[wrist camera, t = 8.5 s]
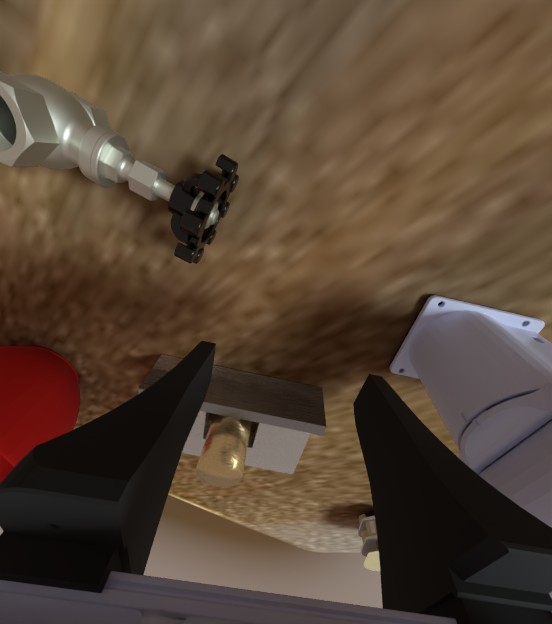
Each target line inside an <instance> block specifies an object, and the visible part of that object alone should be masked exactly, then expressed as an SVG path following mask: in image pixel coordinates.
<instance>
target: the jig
mask: <svg viewBox="0 0 552 624" xmlns="http://www.w3.org/2000/svg"><path fill="white" fill-rule="evenodd" d="M182 360H183V358H178V357H173V356H169V355H164V354H162V355H161V356H160V357H159V359H158V360H157V362H156V363H155V365H154V366H153V367H152V369H151V370H150V372H149V373H148V375H147V376H146V378H145V379H144V380H143V382H142V383H141V385H140V386H139V388H138V394H139V393H141V392H142V391H144V390H145V389H147V388H148V387H150V386H151V385H152V384H154V383H155V382H156V381H158V380H159V379H160V378H161V377H163V376H164V375H165V374H167V373H168V372H169V371H170V370H171V369H173V368H174V367H175V366H176V365H177V364H178V363H179V362H180V361H182ZM209 413H213V414H218V415H223V416H228V417H233V418H238V419H243V420H248V421H253V422H257V426H256V430H255V432H252V431H250V435H249V441H248V446H247V452H246V458H245V464H244V465H247V466H253V467H258V468H263V469H268V470H273V471H278V472H283V473H289V474H293V472H294V470H295V468H296V466H297V463H298V461H299V459H300V457H301V454H302V452H303V450H304V447H305V445H306V443H307V441H308V438H309V436H310V434H311V433H312V434H317V435H323V433H324V431H325V428H326V419H325V410H324V401H323V392H322V388H321V387H316V386H311V385H306V384H302V383H297V382H292V381H287V380H283V379H278V378H273V377H268V376H264V375H259V374H254V373H249V372H245V371H240V370H235V369H230V368H226V367H221V366H216V365H213V370H212V377H211V381H210V384H209V387H208V390H207V394H206V397H205V399H204V402H203V404H202V406H201V408H200V411H199V413H198V415H197V418H196V420H195V422H194V425H193V427H192V429H191V431H190V434H189V436H188V438H187V441H186V443H185V445H184V448H183V451H182V453H186V454H191V455H196V456H201V453H202V449H203V446H204V443H205V440H206V437H207V434H208V431H209V428H210V425H211V423H208V421H209Z"/></svg>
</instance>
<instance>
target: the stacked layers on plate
mask: <svg viewBox="0 0 552 624" xmlns="http://www.w3.org/2000/svg"><path fill="white" fill-rule="evenodd" d="M359 523H360V527H359V530H358V534H359V536H360V537H362V540H363V546H362V548H361V552H362V554H363V555H364V556H366V557H367V558H366V560H365V563H364V567H365V568H367V569H369V570H374V571H380V560H379V549H378V539H377V530H376V522H375V516H370V517H367V516H366V515H365V514H362V515H360V516H359Z"/></svg>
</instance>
